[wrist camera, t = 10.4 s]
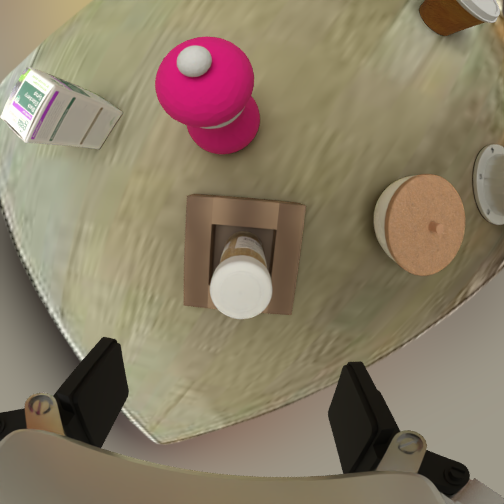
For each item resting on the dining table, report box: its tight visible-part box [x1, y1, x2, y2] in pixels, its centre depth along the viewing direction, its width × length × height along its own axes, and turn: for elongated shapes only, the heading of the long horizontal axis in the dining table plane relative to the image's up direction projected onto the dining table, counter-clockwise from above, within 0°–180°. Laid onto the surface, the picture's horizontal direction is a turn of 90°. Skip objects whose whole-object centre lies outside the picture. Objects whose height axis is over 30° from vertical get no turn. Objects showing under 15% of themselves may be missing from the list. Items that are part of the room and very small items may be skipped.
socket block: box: [184, 194, 306, 315], centre depth 32 cm, size 12×12×4 cm
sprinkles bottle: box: [210, 231, 272, 319], centre depth 27 cm, size 5×5×14 cm
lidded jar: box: [373, 174, 465, 276], centre depth 28 cm, size 11×11×9 cm
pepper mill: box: [155, 37, 260, 154], centre depth 21 cm, size 7×7×20 cm
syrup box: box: [0, 67, 123, 149], centre depth 23 cm, size 6×6×14 cm
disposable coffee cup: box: [419, 0, 500, 36], centre depth 19 cm, size 10×10×12 cm
